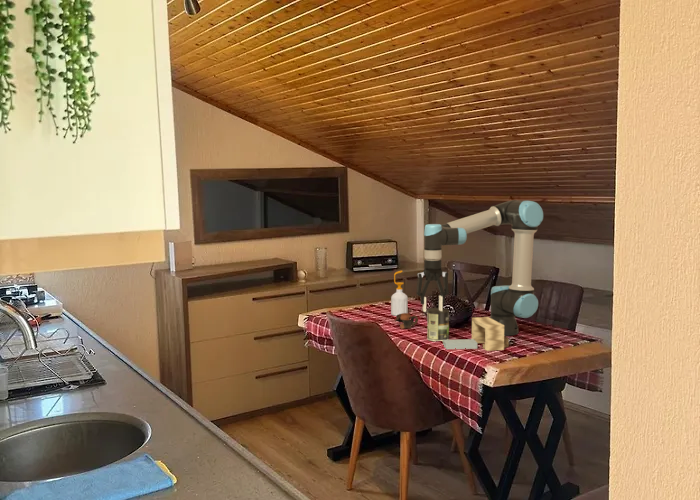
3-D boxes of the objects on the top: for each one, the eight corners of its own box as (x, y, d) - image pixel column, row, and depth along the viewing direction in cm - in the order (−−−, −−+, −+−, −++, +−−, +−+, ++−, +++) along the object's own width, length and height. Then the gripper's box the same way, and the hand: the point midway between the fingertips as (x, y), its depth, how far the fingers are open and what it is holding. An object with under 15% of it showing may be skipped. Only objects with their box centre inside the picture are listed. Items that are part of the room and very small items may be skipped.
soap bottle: (408, 316, 368) (408, 271, 365) (391, 316, 368) (391, 271, 365) (407, 312, 377) (407, 269, 374) (390, 313, 377) (390, 269, 374)
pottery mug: (394, 330, 338) (392, 314, 341) (399, 334, 346) (397, 319, 349) (417, 325, 335) (415, 309, 338) (422, 329, 343) (419, 314, 346)
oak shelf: (495, 339, 315) (496, 316, 313) (512, 349, 297) (512, 324, 296) (471, 341, 312) (471, 317, 311) (486, 350, 295) (487, 326, 293)
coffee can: (449, 337, 320) (449, 307, 319) (448, 342, 310) (448, 312, 309) (427, 336, 322) (428, 307, 321) (426, 341, 312) (426, 311, 311)
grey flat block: (473, 345, 306) (473, 339, 305) (477, 349, 299) (477, 342, 298) (443, 346, 305) (443, 339, 305) (446, 350, 298) (446, 343, 298)
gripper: (451, 257, 300) (450, 308, 303) (408, 259, 297) (408, 310, 299) (457, 259, 293) (456, 311, 296) (413, 261, 289) (413, 313, 292)
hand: (432, 310), depth 297 cm, fingers open, 7 cm apart
